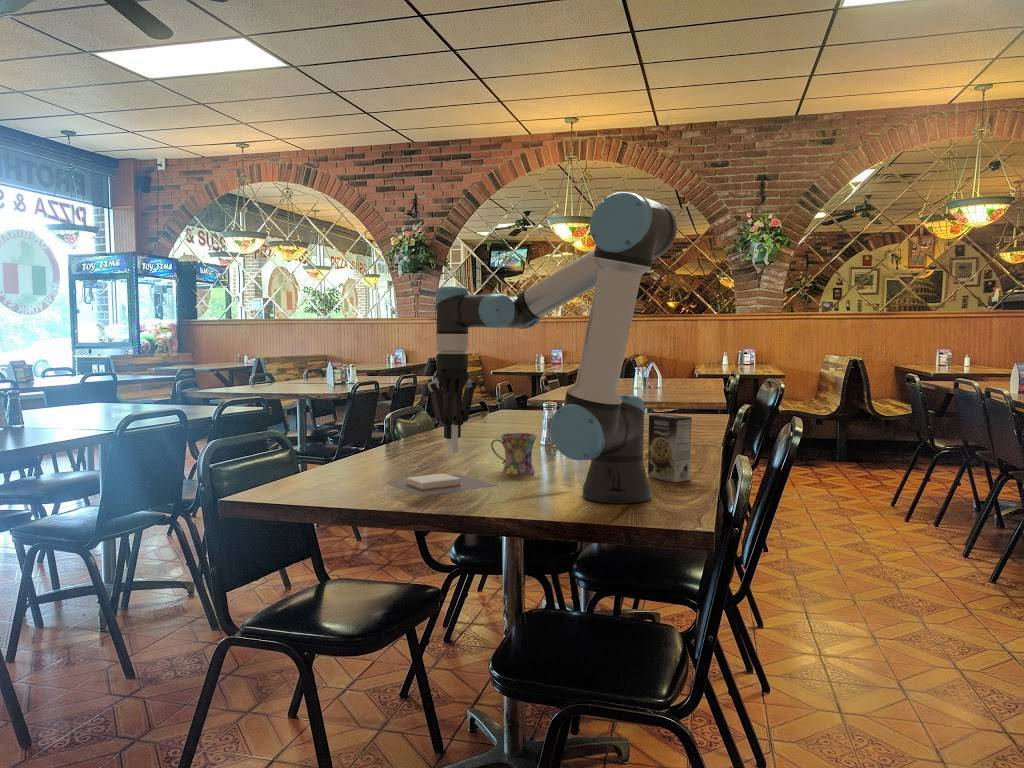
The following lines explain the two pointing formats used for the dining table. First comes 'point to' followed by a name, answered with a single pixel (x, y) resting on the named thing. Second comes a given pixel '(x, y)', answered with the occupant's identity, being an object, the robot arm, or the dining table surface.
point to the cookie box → (669, 447)
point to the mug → (517, 452)
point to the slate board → (466, 484)
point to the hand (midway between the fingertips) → (452, 452)
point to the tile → (433, 481)
